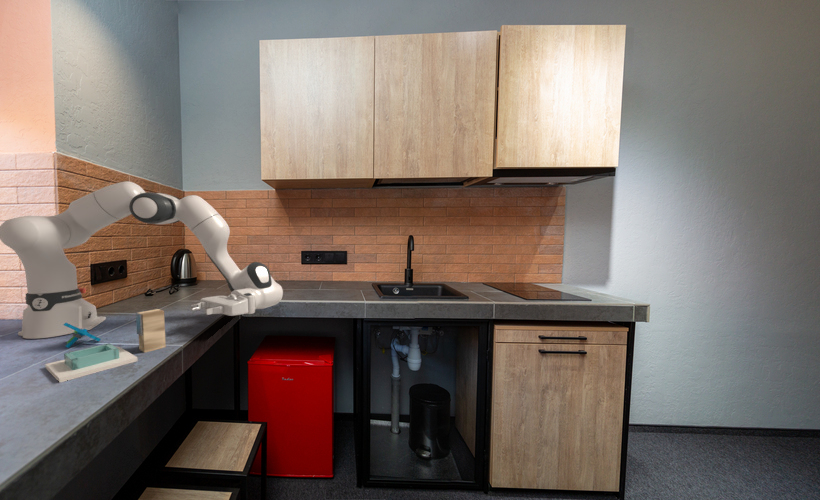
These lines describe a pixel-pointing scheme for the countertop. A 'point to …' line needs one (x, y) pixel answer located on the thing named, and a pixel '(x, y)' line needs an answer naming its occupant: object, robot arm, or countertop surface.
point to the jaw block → (151, 330)
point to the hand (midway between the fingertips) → (198, 310)
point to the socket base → (89, 362)
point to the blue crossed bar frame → (78, 335)
